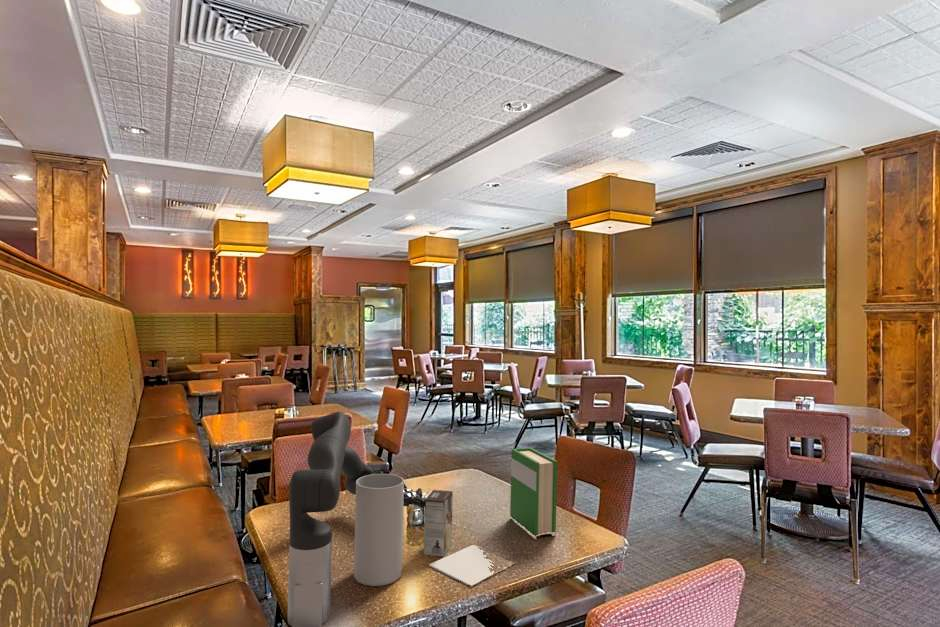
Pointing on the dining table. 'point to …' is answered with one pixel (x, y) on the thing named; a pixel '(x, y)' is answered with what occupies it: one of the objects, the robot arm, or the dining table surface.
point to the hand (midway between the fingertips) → (424, 503)
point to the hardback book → (533, 490)
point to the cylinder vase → (378, 529)
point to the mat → (465, 565)
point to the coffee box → (438, 523)
